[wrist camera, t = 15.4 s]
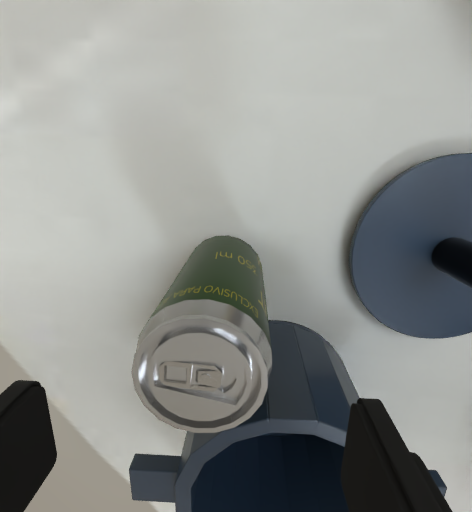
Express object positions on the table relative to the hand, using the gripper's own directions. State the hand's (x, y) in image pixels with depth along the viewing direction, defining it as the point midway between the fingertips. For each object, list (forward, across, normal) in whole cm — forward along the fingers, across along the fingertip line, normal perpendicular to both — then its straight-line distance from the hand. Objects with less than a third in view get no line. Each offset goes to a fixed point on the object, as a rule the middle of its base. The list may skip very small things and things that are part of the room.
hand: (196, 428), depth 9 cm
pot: (+14, -4, +10) cm, 17 cm away
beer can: (+14, 0, 0) cm, 14 cm away
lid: (+13, -15, -2) cm, 20 cm away
